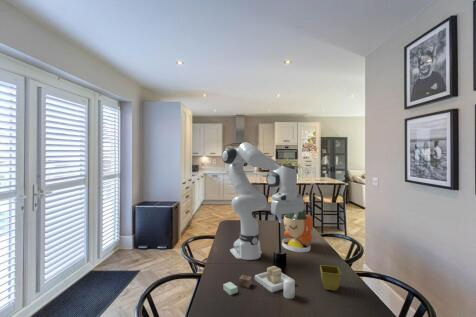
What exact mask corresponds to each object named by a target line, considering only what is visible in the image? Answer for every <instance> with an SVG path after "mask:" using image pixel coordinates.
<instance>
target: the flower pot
mask: <svg viewBox="0 0 476 317" xmlns="http://www.w3.org/2000/svg"><path fill="white" fill-rule="evenodd" d="M319 269H320V270H319V271H320V278H321V282H322V286H323V288H324V290H327V291H328V290H329V291H334V292H335V291H338V290H339V287H340V285H341V280H342V272H341V270H340V267H339V266H334V265H325V264H324V265H323V264H320V265H319Z"/></svg>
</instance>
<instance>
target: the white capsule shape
mask: <svg viewBox="0 0 476 317" xmlns="http://www.w3.org/2000/svg"><path fill="white" fill-rule="evenodd" d="M295 285H296V280H295V279H294V278H292V277H290V278H285V279H284V285H283V289H282V290H283V294H282V295H283V297H284V298H285V299H287V300H288V299H289V300H292V299H294V298H295V296H296V295H295V293H296V292H295V289H296V287H295Z"/></svg>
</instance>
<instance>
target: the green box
mask: <svg viewBox="0 0 476 317" xmlns="http://www.w3.org/2000/svg"><path fill="white" fill-rule="evenodd" d="M222 286H223V290H224V291H225V292H226V293H227V294H228V295H229V296H232V295H234V294H238V292H239V291H238V286H237V285H235V283H233V282H231V281H227V282H226V283H223V284H222Z"/></svg>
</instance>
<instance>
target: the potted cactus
mask: <svg viewBox="0 0 476 317" xmlns="http://www.w3.org/2000/svg"><path fill="white" fill-rule="evenodd" d="M303 203H304V205H306V204H307V202H306V201H305V199H303ZM305 208H306V207H304V210H303V212H299V213H298V216H297V220H296V221H293V220H292V219H293V218H292V217H294V213H288V214H284V216H283V226H284V229H285V230H284V233H283V234H284V236H285V237H287V238H284V239H282V241H281V246H282V248H284V249H286V250H289V251H293V252H296V253H309V252H310V250H311V244H310V243H311V242H312V241H313V234H312V231H313V225H314V219H313V216H312V215H309V214H307V212H306V209H305ZM298 238H299V239H298ZM286 243H287V244H286ZM304 246H306V247H304Z"/></svg>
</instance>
